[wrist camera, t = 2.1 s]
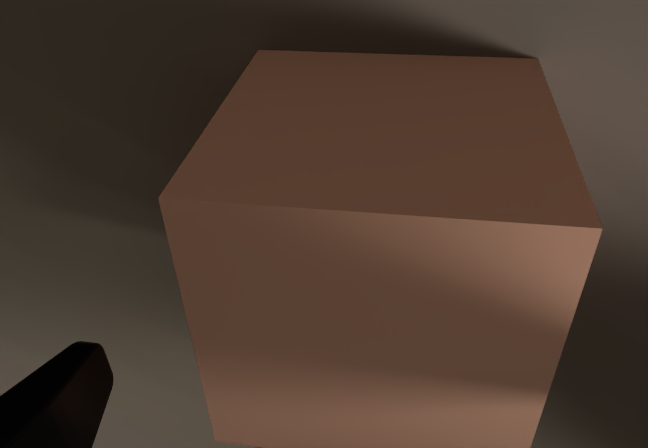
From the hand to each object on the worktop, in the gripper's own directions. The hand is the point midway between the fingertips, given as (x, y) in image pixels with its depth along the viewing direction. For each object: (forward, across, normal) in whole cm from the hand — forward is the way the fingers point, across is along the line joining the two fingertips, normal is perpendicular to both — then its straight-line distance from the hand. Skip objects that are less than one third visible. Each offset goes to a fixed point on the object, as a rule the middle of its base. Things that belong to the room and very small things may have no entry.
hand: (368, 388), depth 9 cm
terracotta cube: (+6, 0, 0) cm, 7 cm away
